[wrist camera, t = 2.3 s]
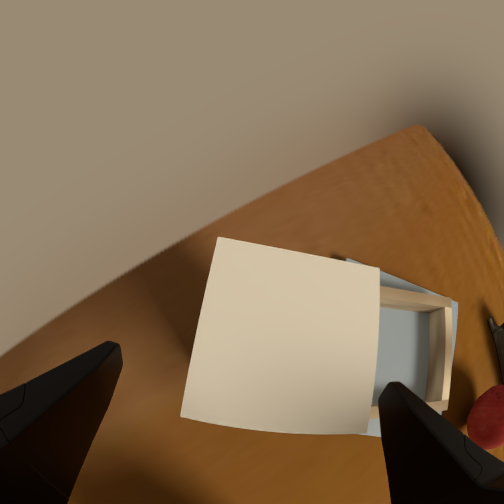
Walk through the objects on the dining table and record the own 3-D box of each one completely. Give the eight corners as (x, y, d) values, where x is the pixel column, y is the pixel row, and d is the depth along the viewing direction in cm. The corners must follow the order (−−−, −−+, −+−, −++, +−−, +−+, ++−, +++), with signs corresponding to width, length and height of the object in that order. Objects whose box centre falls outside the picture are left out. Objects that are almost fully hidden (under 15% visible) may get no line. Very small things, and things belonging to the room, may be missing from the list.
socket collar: (430, 409, 15) (447, 409, 13) (333, 415, 15) (346, 419, 13) (435, 304, 18) (450, 297, 17) (346, 291, 18) (359, 282, 16)
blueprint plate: (451, 305, 20) (458, 302, 19) (426, 437, 15) (434, 439, 14) (341, 262, 20) (346, 257, 19) (296, 420, 15) (300, 423, 14)
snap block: (271, 393, 16) (366, 432, 5) (210, 384, 16) (180, 416, 5) (281, 335, 18) (379, 268, 6) (221, 325, 18) (217, 236, 6)
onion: (457, 387, 17) (526, 377, 9) (488, 388, 16) (549, 377, 9) (442, 448, 14) (510, 456, 7) (477, 442, 14) (536, 443, 7)
